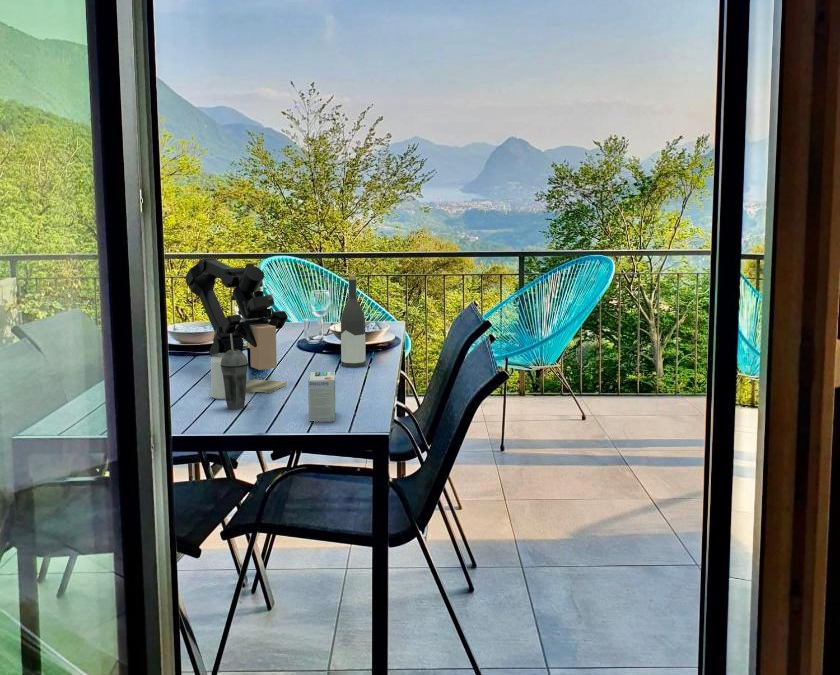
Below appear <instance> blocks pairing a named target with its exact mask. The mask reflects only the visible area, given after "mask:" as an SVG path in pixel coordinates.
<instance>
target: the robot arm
mask: <svg viewBox="0 0 840 675" xmlns="http://www.w3.org/2000/svg"><path fill="white" fill-rule="evenodd" d="M264 278H265V273H264V270H262V269H261V268H259V267H258V266H255V265H254V263H246V264H245V267H238V266H235V267H234V266H230V265H227V264H226V263H224V262H221V261H219V260H218V259H217V258H213V257H209V258H201V259H200V260H199V261H198V262H197V264H195V265H194V266H192V267H191V268H189V270H188V271H187V273H186V275H185V284H186V286H187V287H188V288H189V290H190V292H191V293H192V294H194V295H196V296H197V297H199V299H200V302H201V304H202V306H203V309H204V311H205V313H206V315H207V317H208V321H209V322H210V325H211V327H212V330H213V331H214V334H213V337H212V342H213V343H212V345H211V347H210V349H209V354H210V358H212V355H213V354H218V353H226V352H227V351H229V350H232V349H231V339H230V334H232V339H233V349H236V350H240V351H241V352H243V350H244V345H245V344H244V340H245V341H246V342H247V343H248V344H249V345H250V344H251V345H252V346H254V347H256V346H257V343H256V340H255V338H254V336H253V334H252V331H251V329H250V326H252V325H262V324H268V325H272V326H276V330H280V329H282V328H283V327H284V325H285V324H286V321H287V320H288V318H289V316H288V314H287V312H286V311H284V310H277V311H275V310H274V311H272V312H271V314H270V316H264V315H266V313H267V309H269V308H270V307H273V305H274V304H275V300H274V297H273V295H272V294H271V293H269V294H265V295H262V296H255V293H256V292H257V291H258V290H259V288H260V286H261V284H262V282H263V281H264V280H263V279H264ZM217 279H220V280H221V284H222V285H223V286H224V287H225V288H226V289H230V288H234V289H233V291H232V294H231V298H230V299H231V301H235V303H236V305H237V308H238V311H237V313H238V314H232V315H230V314H229V315H226V314H225V312H224V310H223V308H222V306H221V304H220V301H219V300H218V296H217V295H216V293H215V290H214V287H215V284H216V280H217Z"/></svg>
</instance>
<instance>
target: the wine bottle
mask: <svg viewBox="0 0 840 675" xmlns="http://www.w3.org/2000/svg"><path fill="white" fill-rule="evenodd" d="M363 310H364V309H363V307H362V306H361V304H360V303H359V300H358V299H357V276H356V274H349V275H348V299H347V302H346V303H345V306H344V307H343V310H342V314H341V318H340V351H341V352H340V353H341V354H340V357H341V360H340V361H341V362H340V363H341V367H343V366H344V367H343V368H349V369H352V368H353V369H355V368H364V367H365V366H366V361H367V360H366V353H367V352H366V317H365V313H364V311H363Z"/></svg>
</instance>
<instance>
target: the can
mask: <svg viewBox="0 0 840 675" xmlns="http://www.w3.org/2000/svg"><path fill="white" fill-rule="evenodd" d="M224 354H225V353H218V354H213V355H212V357H211V359H210V381H211V382H210V384H211V397H212V398H213V399H214V400H226V396H225V388H224V380H223V373H222V370H221V366H220V365H221V360H222V357H223V355H224Z"/></svg>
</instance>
